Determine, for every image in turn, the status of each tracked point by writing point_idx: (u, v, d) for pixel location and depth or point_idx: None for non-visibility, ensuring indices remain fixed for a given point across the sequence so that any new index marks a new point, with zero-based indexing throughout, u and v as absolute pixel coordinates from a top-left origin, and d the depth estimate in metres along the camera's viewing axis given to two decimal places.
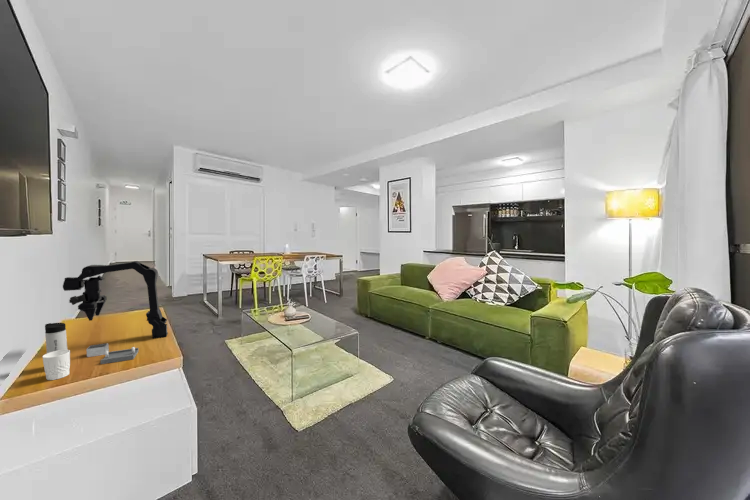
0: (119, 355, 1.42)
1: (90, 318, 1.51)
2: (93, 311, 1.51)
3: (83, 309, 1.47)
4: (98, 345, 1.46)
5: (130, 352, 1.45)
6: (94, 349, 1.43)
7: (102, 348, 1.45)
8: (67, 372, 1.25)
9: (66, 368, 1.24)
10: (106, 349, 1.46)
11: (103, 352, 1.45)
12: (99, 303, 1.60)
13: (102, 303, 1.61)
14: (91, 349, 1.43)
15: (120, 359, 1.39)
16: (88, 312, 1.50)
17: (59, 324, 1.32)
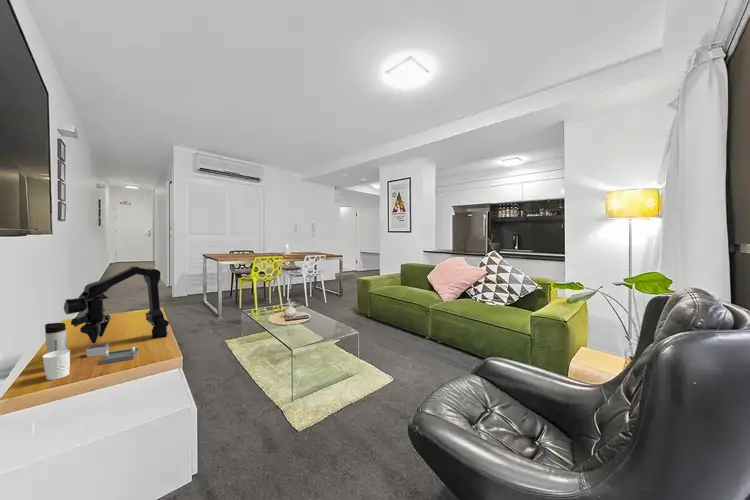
0: (119, 355, 1.42)
1: (93, 341, 1.41)
2: (96, 333, 1.40)
3: (86, 332, 1.37)
4: (98, 345, 1.46)
5: (130, 352, 1.45)
6: (94, 349, 1.43)
7: (102, 348, 1.45)
8: (67, 372, 1.25)
9: (66, 368, 1.24)
10: (106, 349, 1.47)
11: (103, 352, 1.45)
12: (103, 323, 1.50)
13: (106, 323, 1.50)
14: (91, 349, 1.43)
15: (120, 359, 1.39)
16: (91, 334, 1.40)
17: (59, 324, 1.32)
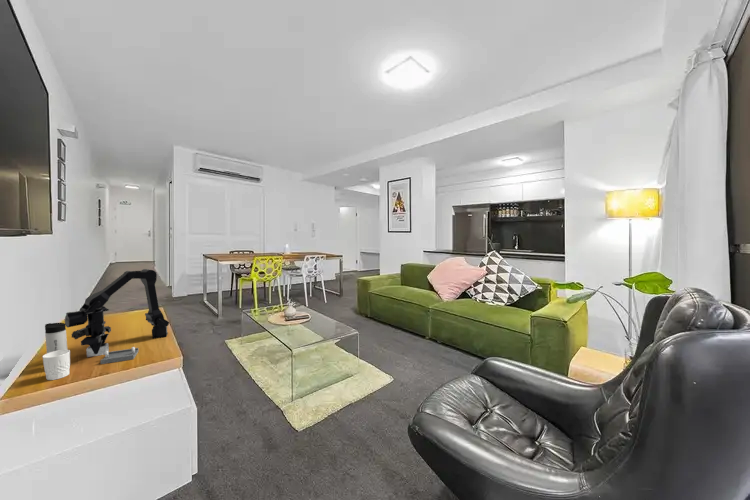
0: (119, 355, 1.42)
1: (95, 351, 1.43)
2: (99, 344, 1.42)
3: None
4: None
5: (130, 352, 1.45)
6: None
7: (102, 347, 1.45)
8: (67, 372, 1.25)
9: (66, 368, 1.24)
10: (106, 349, 1.46)
11: (103, 352, 1.45)
12: (102, 337, 1.48)
13: (105, 336, 1.49)
14: (91, 349, 1.43)
15: (120, 359, 1.39)
16: (94, 345, 1.42)
17: (59, 324, 1.32)
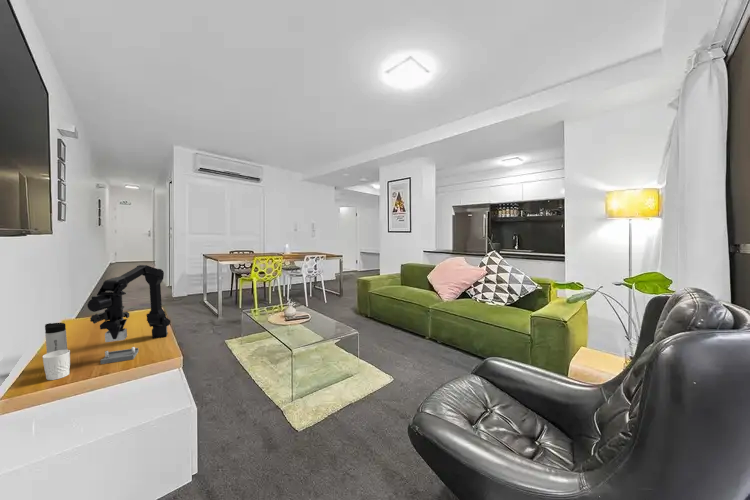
0: (119, 355, 1.42)
1: (114, 336, 1.39)
2: (117, 329, 1.38)
3: None
4: None
5: (130, 352, 1.45)
6: None
7: (120, 332, 1.40)
8: (67, 372, 1.25)
9: (66, 368, 1.24)
10: (124, 334, 1.42)
11: (121, 337, 1.41)
12: (120, 322, 1.44)
13: (123, 322, 1.45)
14: (109, 334, 1.39)
15: (120, 359, 1.39)
16: (112, 330, 1.38)
17: (59, 324, 1.32)
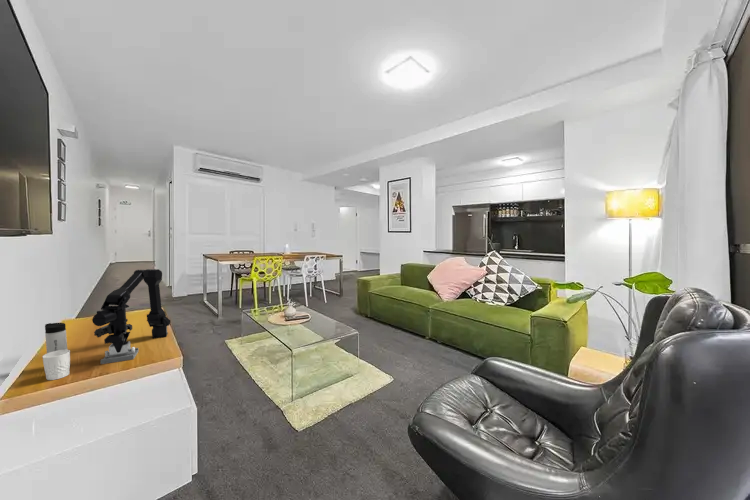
0: (119, 355, 1.42)
1: (118, 350, 1.39)
2: (121, 342, 1.39)
3: None
4: None
5: (130, 352, 1.45)
6: None
7: (124, 346, 1.41)
8: (67, 372, 1.25)
9: (66, 368, 1.24)
10: (128, 347, 1.43)
11: (125, 350, 1.41)
12: (123, 335, 1.45)
13: (127, 334, 1.45)
14: (113, 347, 1.39)
15: (120, 359, 1.39)
16: (116, 343, 1.38)
17: (59, 324, 1.32)
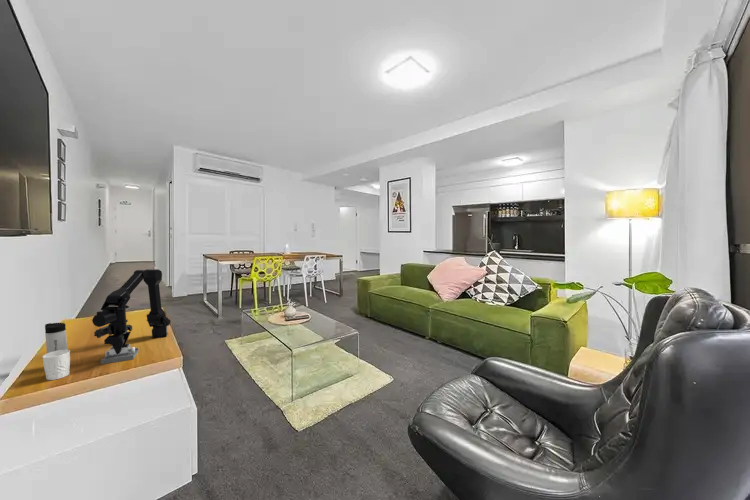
0: None
1: (117, 351, 1.39)
2: (121, 344, 1.38)
3: None
4: None
5: (130, 352, 1.45)
6: None
7: (124, 348, 1.41)
8: (67, 372, 1.25)
9: (66, 368, 1.24)
10: (128, 350, 1.43)
11: (125, 353, 1.41)
12: (124, 335, 1.45)
13: (127, 334, 1.46)
14: (113, 350, 1.39)
15: (120, 359, 1.39)
16: (116, 345, 1.38)
17: (59, 324, 1.32)
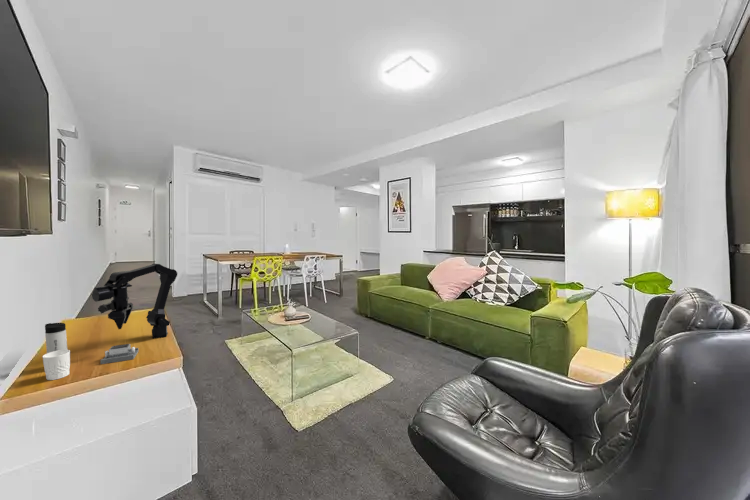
0: None
1: (119, 327, 1.47)
2: (122, 319, 1.47)
3: (113, 318, 1.43)
4: (120, 346, 1.42)
5: (130, 352, 1.45)
6: (116, 350, 1.40)
7: (124, 348, 1.41)
8: (67, 372, 1.25)
9: (66, 368, 1.24)
10: (128, 350, 1.43)
11: (125, 353, 1.41)
12: (126, 311, 1.56)
13: (129, 311, 1.57)
14: (113, 350, 1.39)
15: (120, 359, 1.39)
16: (118, 320, 1.46)
17: (59, 324, 1.32)
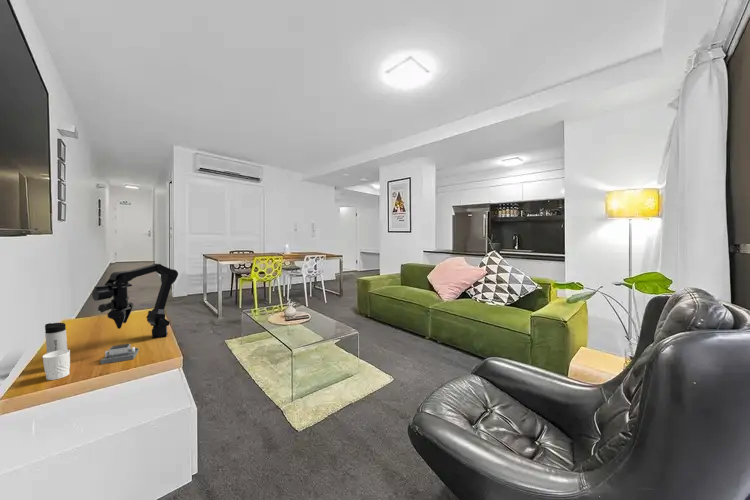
0: None
1: (119, 326, 1.47)
2: (122, 319, 1.47)
3: (112, 317, 1.44)
4: (120, 346, 1.42)
5: (130, 352, 1.45)
6: (116, 350, 1.40)
7: (124, 348, 1.41)
8: (67, 372, 1.25)
9: (66, 368, 1.24)
10: (128, 350, 1.43)
11: (125, 353, 1.41)
12: (126, 310, 1.56)
13: (129, 310, 1.57)
14: (113, 350, 1.39)
15: (120, 359, 1.39)
16: (117, 320, 1.46)
17: (59, 324, 1.32)
